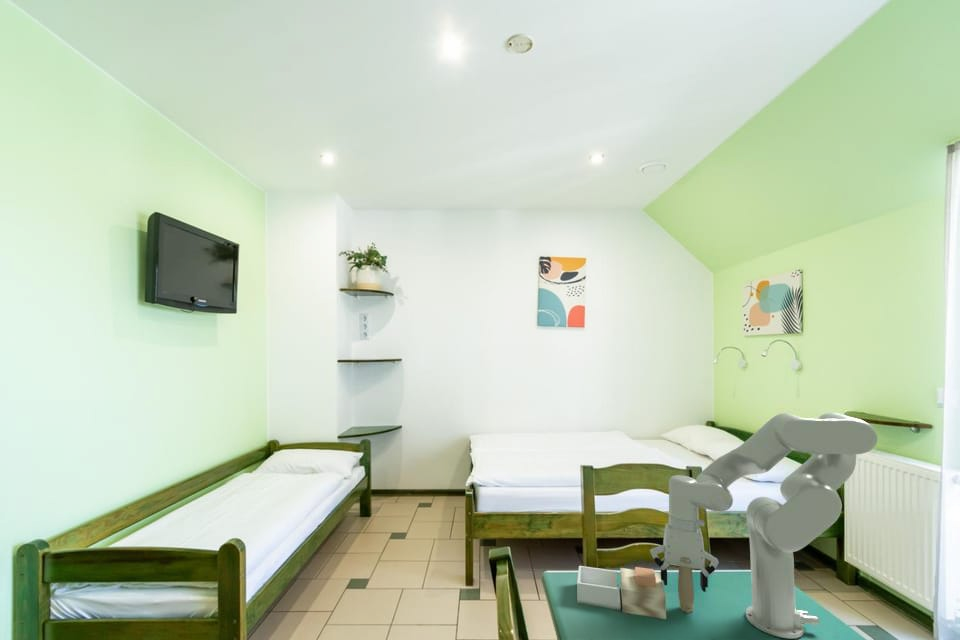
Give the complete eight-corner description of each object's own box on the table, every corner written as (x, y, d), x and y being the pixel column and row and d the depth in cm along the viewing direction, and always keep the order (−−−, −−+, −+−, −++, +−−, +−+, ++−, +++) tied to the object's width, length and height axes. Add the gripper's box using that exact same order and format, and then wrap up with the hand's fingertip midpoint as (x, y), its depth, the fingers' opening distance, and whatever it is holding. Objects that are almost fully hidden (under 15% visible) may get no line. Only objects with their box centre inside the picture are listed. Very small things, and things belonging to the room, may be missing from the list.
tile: (653, 578, 124) (653, 569, 124) (655, 587, 119) (655, 578, 119) (635, 575, 125) (635, 566, 125) (636, 584, 120) (636, 575, 120)
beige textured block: (660, 594, 126) (659, 573, 126) (666, 619, 114) (665, 595, 115) (620, 588, 129) (620, 567, 129) (622, 612, 117) (622, 589, 118)
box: (619, 589, 128) (618, 571, 129) (620, 609, 118) (620, 589, 119) (579, 584, 131) (579, 565, 132) (577, 602, 122) (577, 583, 122)
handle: (702, 616, 116) (700, 558, 117) (677, 614, 117) (675, 557, 118) (695, 605, 121) (693, 550, 122) (671, 603, 121) (670, 548, 122)
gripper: (714, 521, 121) (715, 584, 120) (649, 513, 126) (648, 574, 125) (721, 532, 114) (722, 599, 113) (651, 523, 119) (651, 587, 118)
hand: (683, 586), depth 119 cm, fingers open, 9 cm apart
